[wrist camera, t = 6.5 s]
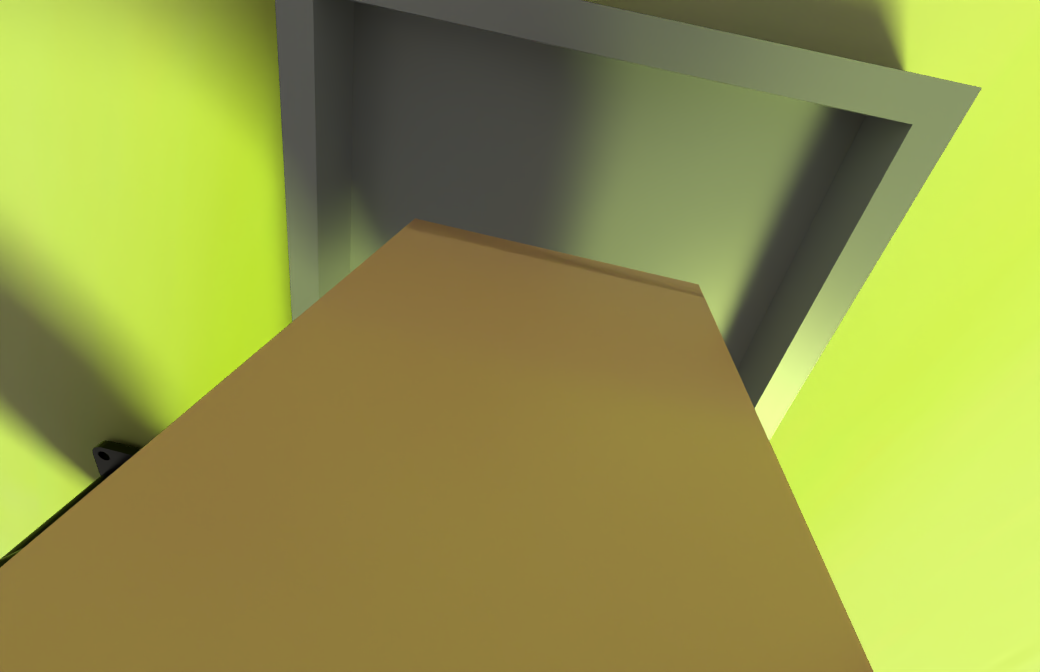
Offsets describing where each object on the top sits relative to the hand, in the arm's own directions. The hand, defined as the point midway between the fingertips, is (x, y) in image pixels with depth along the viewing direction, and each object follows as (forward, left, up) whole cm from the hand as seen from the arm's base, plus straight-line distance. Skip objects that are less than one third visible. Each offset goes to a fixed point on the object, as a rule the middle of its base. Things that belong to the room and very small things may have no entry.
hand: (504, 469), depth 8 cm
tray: (0, 0, -8) cm, 8 cm away
